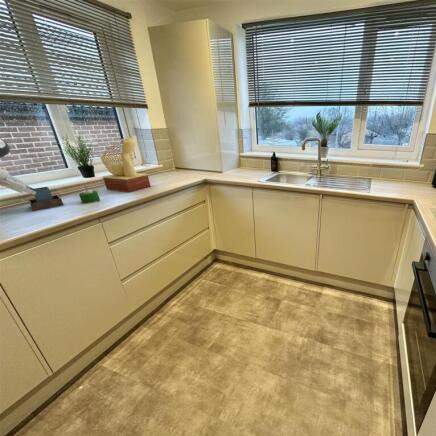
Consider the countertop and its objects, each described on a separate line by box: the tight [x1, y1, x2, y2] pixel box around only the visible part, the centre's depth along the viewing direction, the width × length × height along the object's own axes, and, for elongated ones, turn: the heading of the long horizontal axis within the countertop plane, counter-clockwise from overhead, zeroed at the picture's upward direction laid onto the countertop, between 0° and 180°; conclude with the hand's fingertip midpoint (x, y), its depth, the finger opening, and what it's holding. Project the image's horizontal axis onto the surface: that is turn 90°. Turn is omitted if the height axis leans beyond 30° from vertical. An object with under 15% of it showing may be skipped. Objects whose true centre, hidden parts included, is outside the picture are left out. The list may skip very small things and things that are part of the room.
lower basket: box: [27, 194, 64, 212], centre depth 132 cm, size 12×12×5 cm
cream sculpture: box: [100, 135, 152, 193], centre depth 161 cm, size 25×18×35 cm
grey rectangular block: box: [31, 186, 54, 203], centre depth 131 cm, size 6×6×10 cm
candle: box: [78, 184, 101, 204], centre depth 138 cm, size 8×8×10 cm
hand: (34, 191), depth 128 cm, fingers open, 8 cm apart
